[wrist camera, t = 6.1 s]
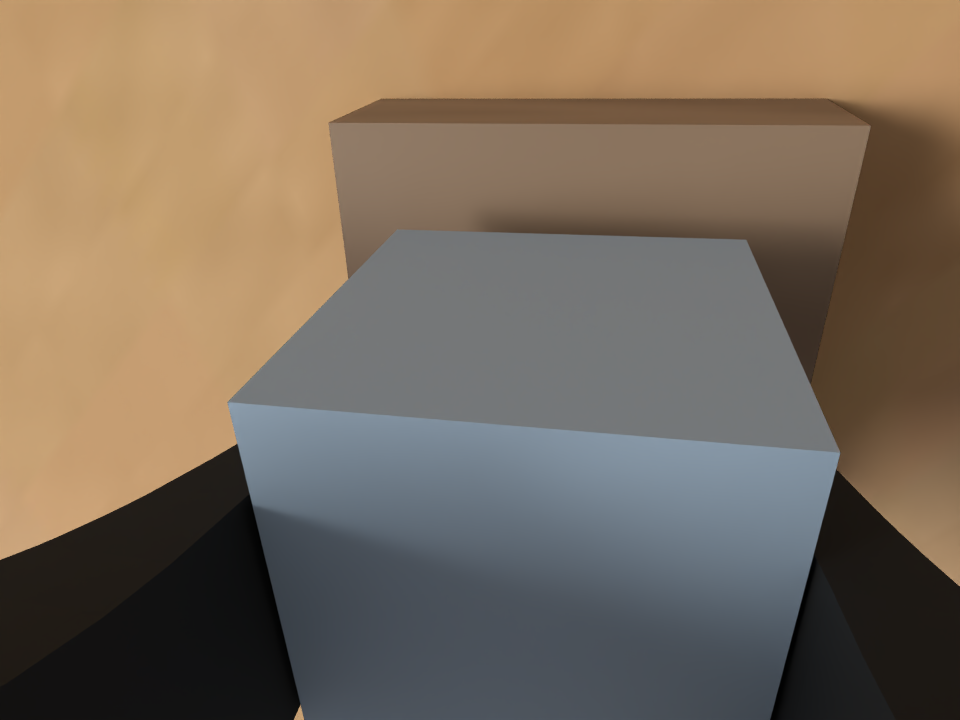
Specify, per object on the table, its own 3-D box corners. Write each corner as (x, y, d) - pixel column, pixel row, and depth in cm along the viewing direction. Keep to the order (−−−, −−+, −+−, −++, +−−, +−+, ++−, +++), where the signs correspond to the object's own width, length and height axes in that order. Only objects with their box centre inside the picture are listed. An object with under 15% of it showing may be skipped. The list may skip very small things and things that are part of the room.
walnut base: (748, 461, 16) (772, 564, 13) (416, 431, 17) (374, 517, 15) (820, 95, 12) (876, 128, 9) (387, 96, 14) (322, 125, 11)
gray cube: (701, 520, 12) (741, 829, 7) (421, 491, 13) (311, 750, 8) (745, 239, 9) (840, 452, 5) (397, 229, 10) (227, 403, 6)
